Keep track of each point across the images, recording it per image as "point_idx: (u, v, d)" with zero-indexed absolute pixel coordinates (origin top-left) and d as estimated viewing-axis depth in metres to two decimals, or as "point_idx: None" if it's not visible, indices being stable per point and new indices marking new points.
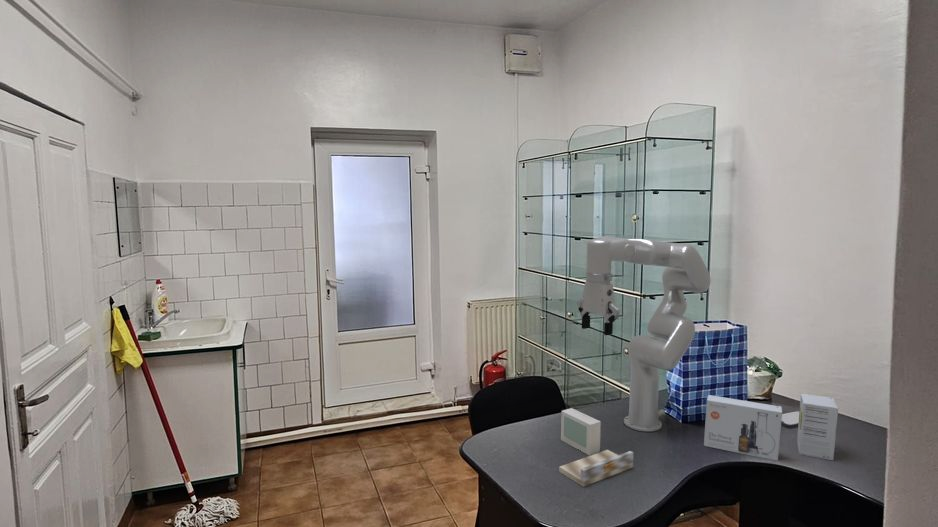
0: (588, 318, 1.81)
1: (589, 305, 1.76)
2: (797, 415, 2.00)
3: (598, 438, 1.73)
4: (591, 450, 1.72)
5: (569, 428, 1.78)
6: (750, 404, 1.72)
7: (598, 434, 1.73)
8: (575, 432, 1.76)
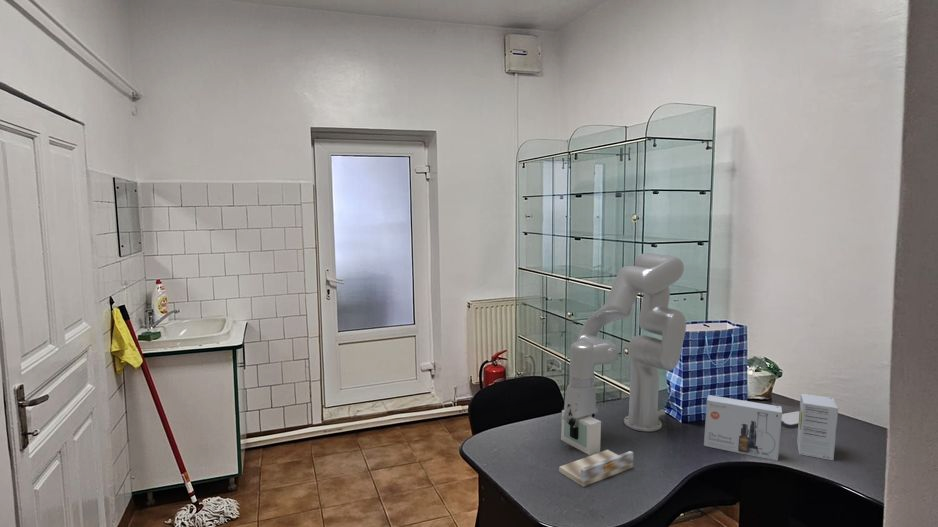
0: None
1: (583, 410, 1.74)
2: (797, 415, 2.00)
3: (598, 438, 1.73)
4: (592, 449, 1.72)
5: (569, 428, 1.79)
6: (750, 404, 1.72)
7: (598, 434, 1.73)
8: None
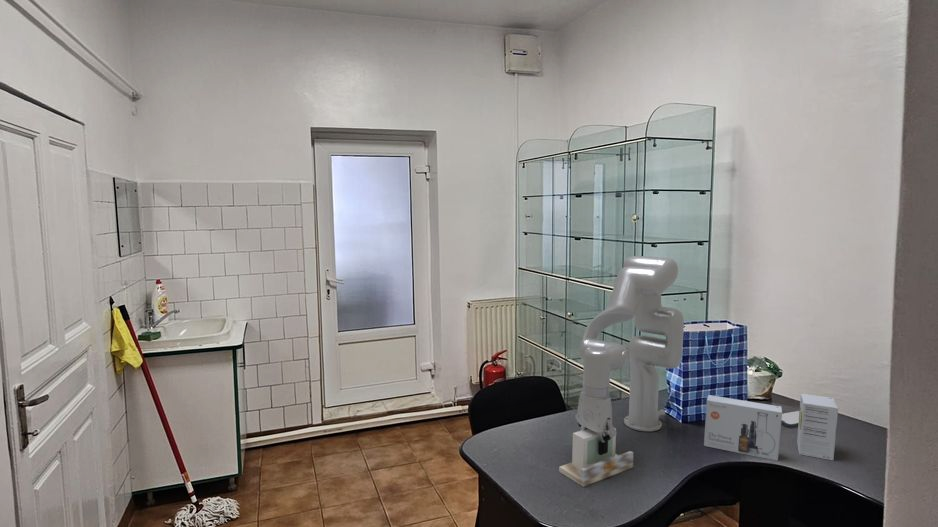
0: None
1: None
2: (798, 415, 2.00)
3: None
4: None
5: (594, 450, 1.60)
6: (750, 404, 1.72)
7: None
8: None
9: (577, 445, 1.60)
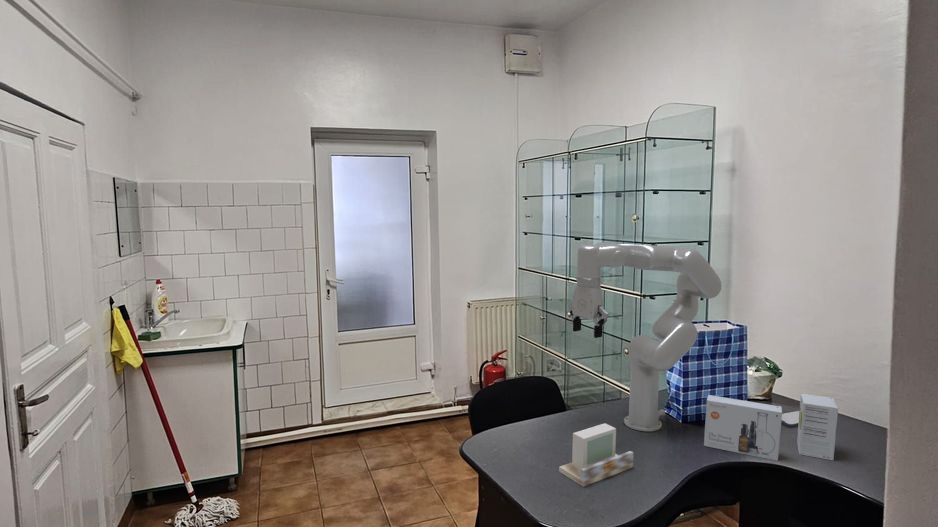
0: None
1: None
2: (798, 415, 2.00)
3: None
4: None
5: (594, 450, 1.60)
6: (750, 404, 1.72)
7: None
8: (601, 449, 1.61)
9: (577, 445, 1.60)
